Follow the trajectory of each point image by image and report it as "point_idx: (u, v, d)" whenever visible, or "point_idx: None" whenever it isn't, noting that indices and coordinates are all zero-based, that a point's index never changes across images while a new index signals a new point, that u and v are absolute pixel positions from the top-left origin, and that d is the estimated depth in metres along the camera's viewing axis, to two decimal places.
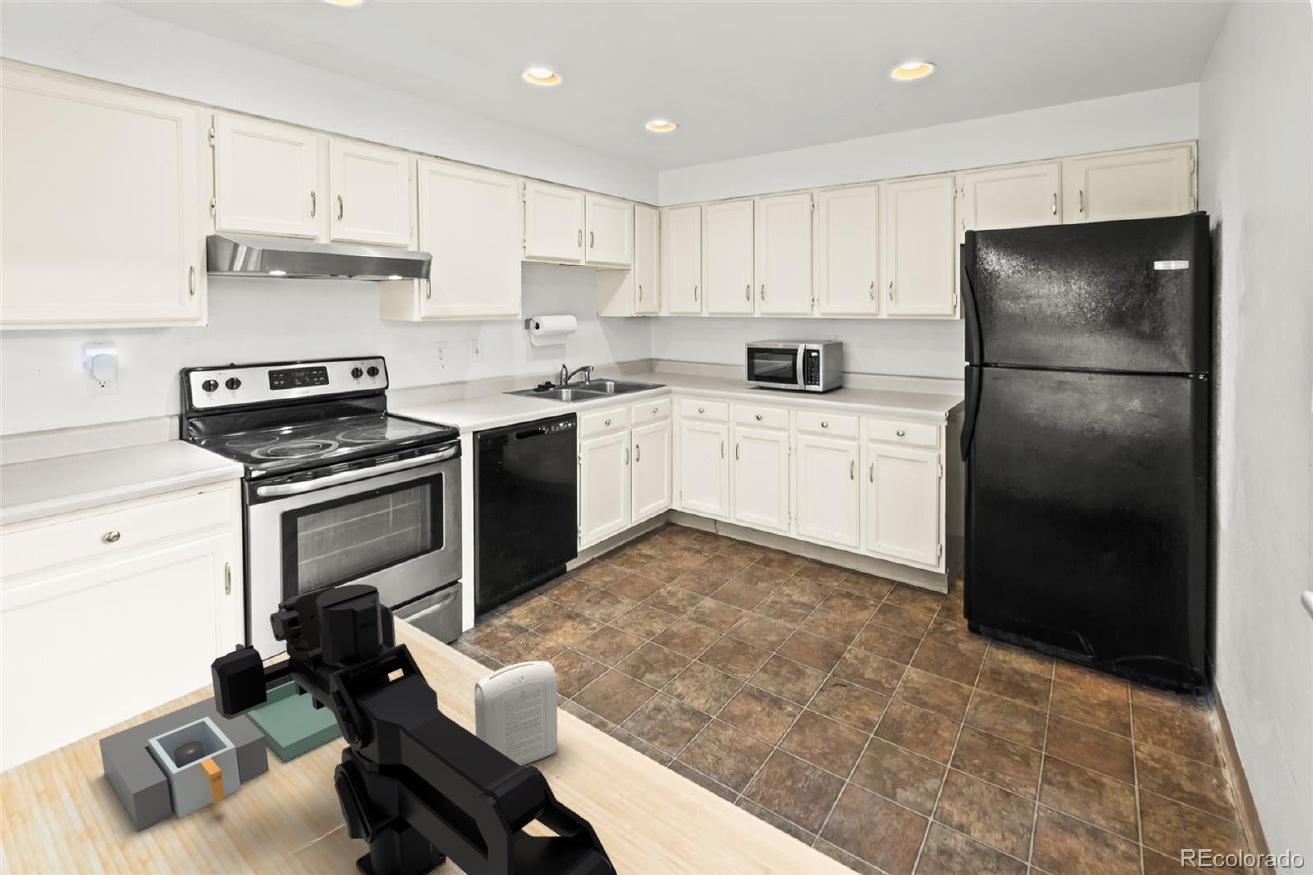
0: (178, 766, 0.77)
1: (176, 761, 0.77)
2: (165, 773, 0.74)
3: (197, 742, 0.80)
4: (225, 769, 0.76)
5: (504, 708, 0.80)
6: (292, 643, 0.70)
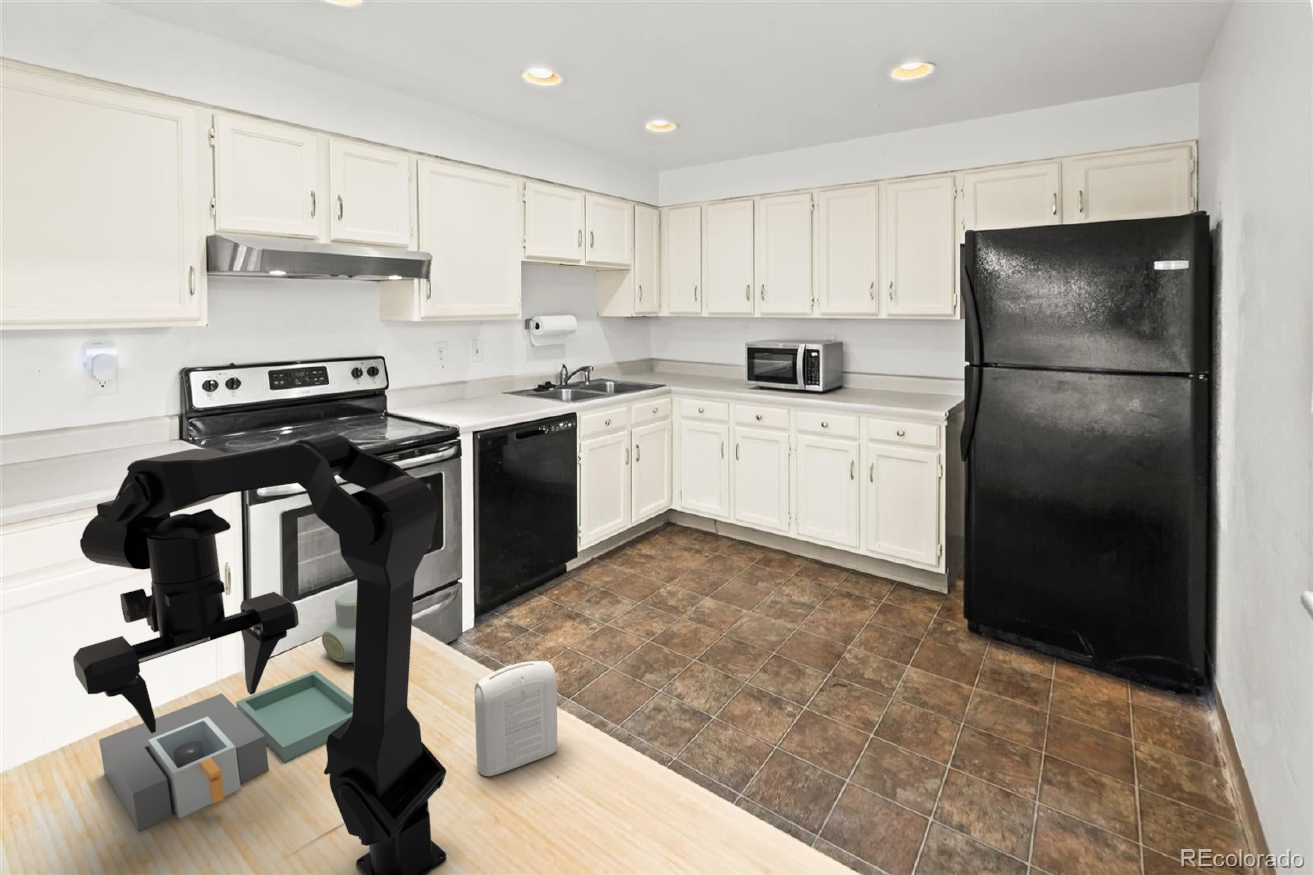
0: (178, 766, 0.77)
1: (176, 761, 0.77)
2: (165, 773, 0.74)
3: (196, 742, 0.80)
4: (225, 769, 0.76)
5: (504, 708, 0.80)
6: (142, 605, 0.70)
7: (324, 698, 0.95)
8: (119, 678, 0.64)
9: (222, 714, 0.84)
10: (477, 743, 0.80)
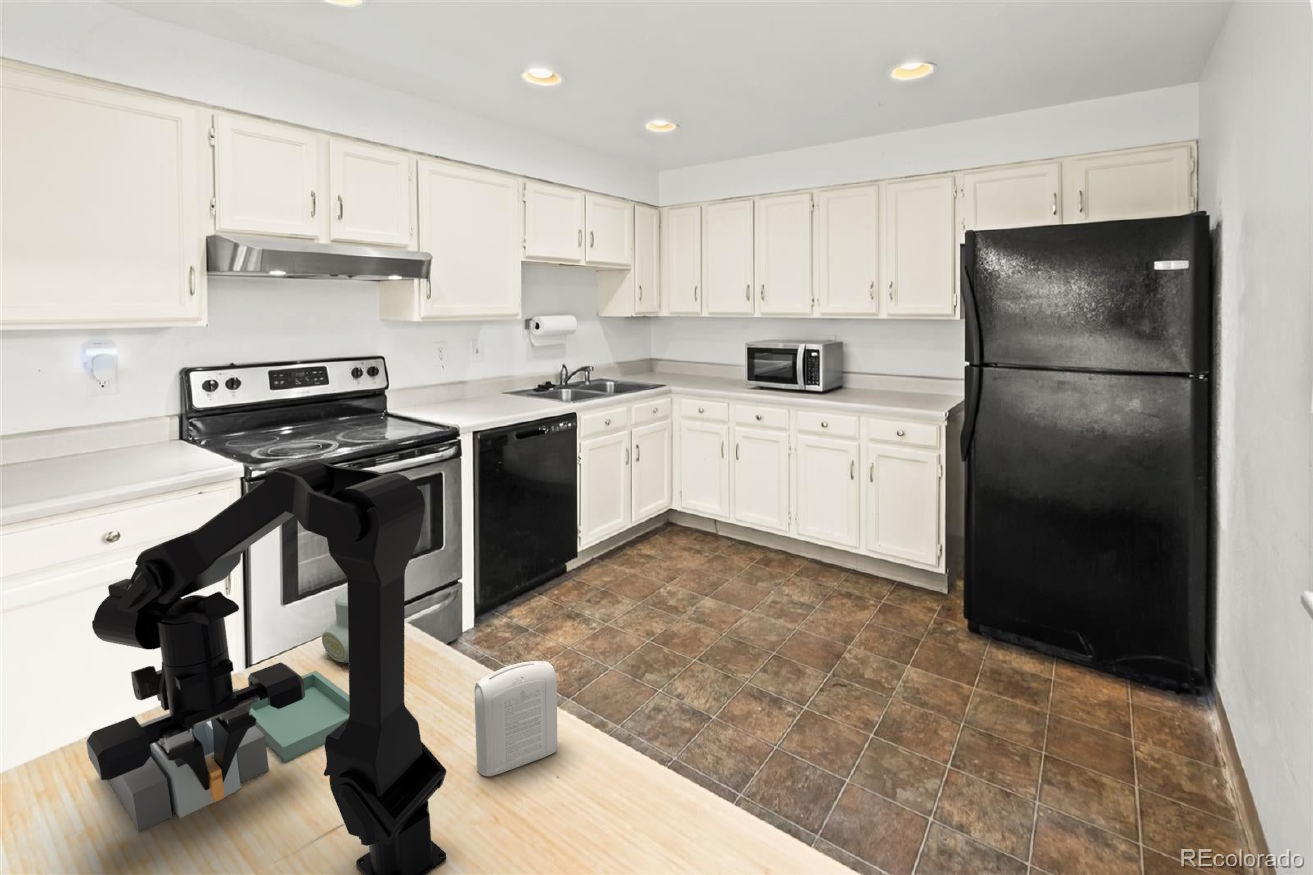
0: (178, 765, 0.77)
1: (176, 760, 0.77)
2: (165, 772, 0.74)
3: None
4: None
5: (504, 708, 0.80)
6: (153, 684, 0.72)
7: (324, 698, 0.95)
8: (131, 763, 0.65)
9: None
10: (477, 743, 0.80)
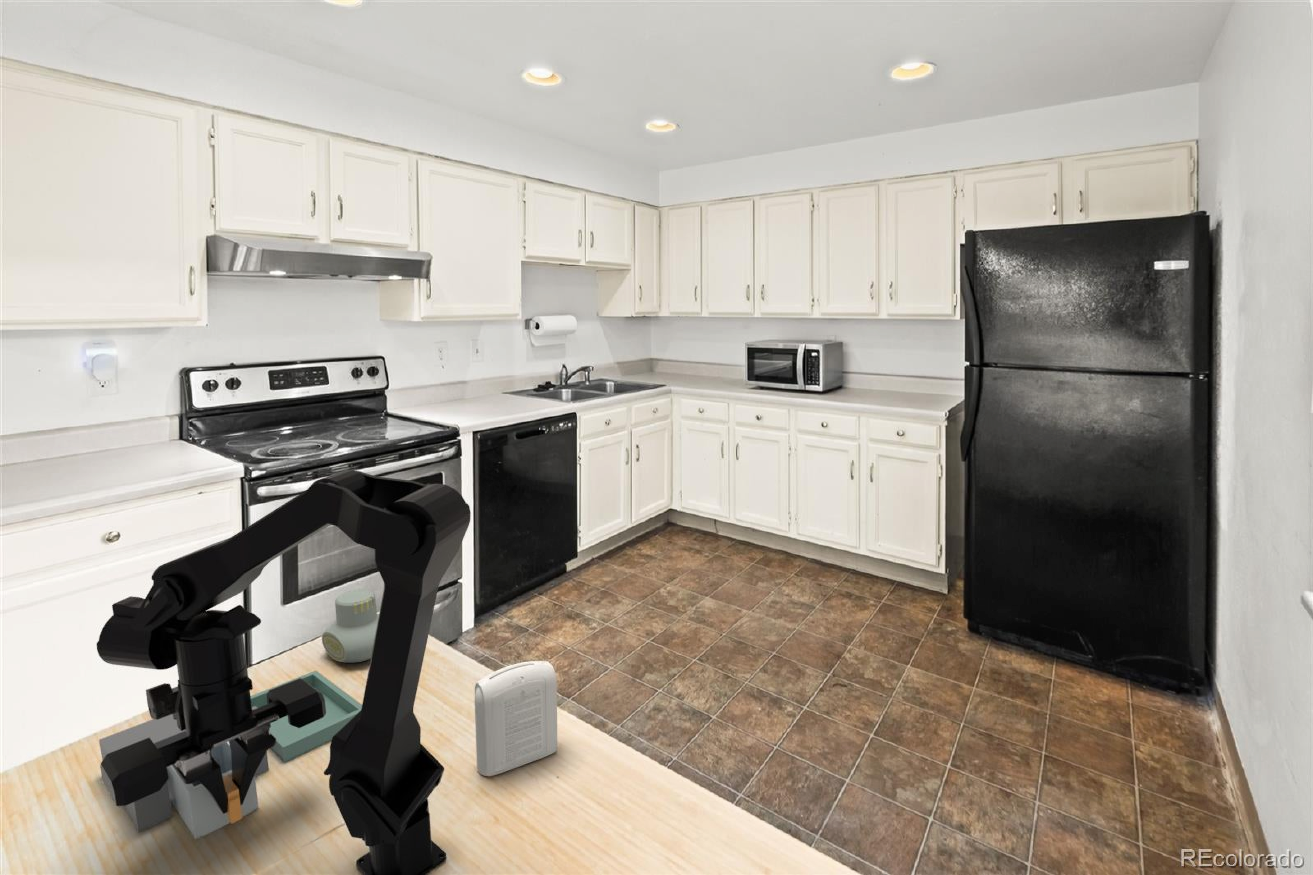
0: (194, 783, 0.75)
1: None
2: (181, 791, 0.72)
3: (213, 757, 0.77)
4: None
5: (504, 708, 0.80)
6: (168, 702, 0.69)
7: (324, 698, 0.95)
8: (147, 787, 0.62)
9: None
10: (477, 743, 0.80)
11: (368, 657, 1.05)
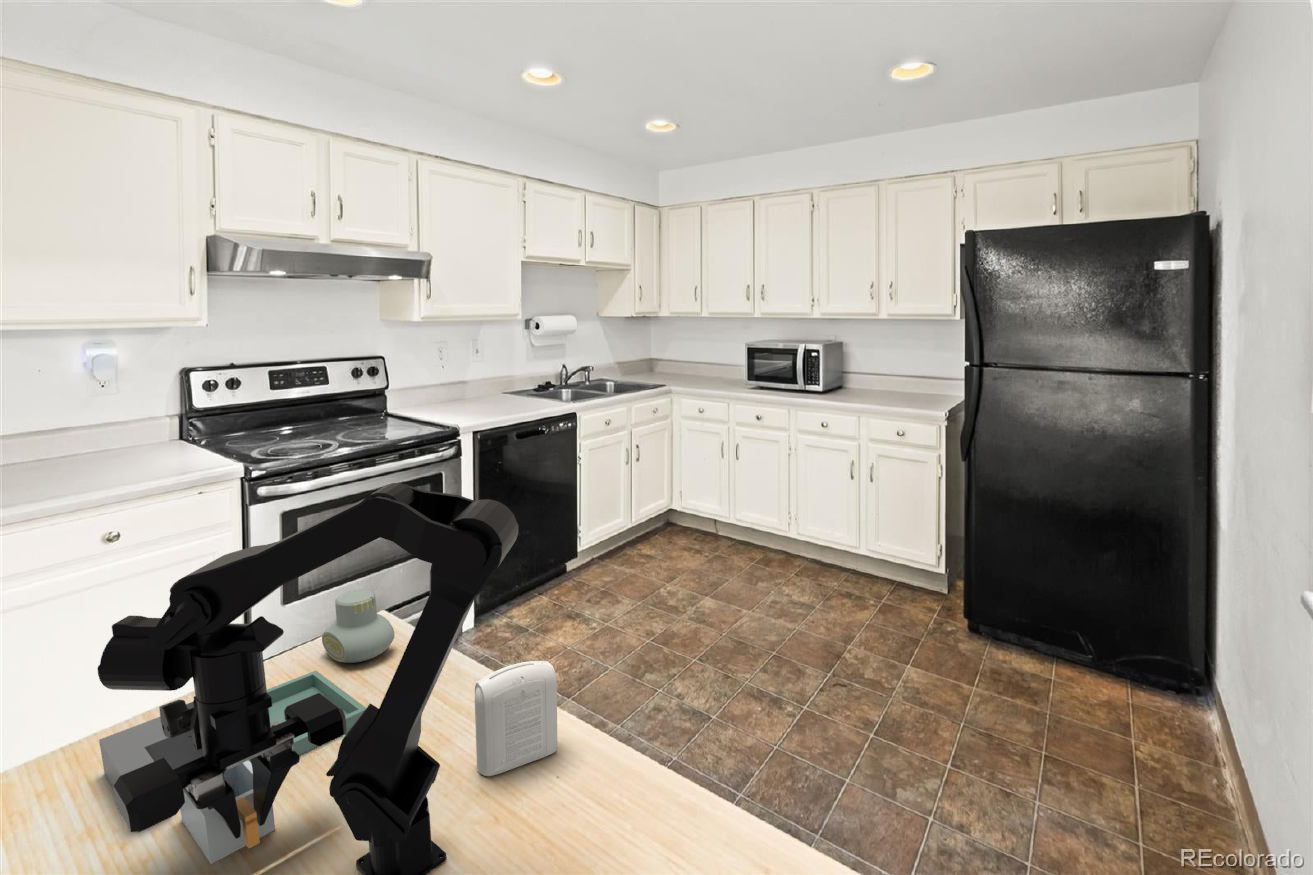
0: None
1: None
2: (195, 814, 0.69)
3: (227, 778, 0.74)
4: None
5: (504, 708, 0.80)
6: (183, 720, 0.66)
7: None
8: (163, 812, 0.59)
9: None
10: (477, 743, 0.80)
11: (368, 657, 1.05)
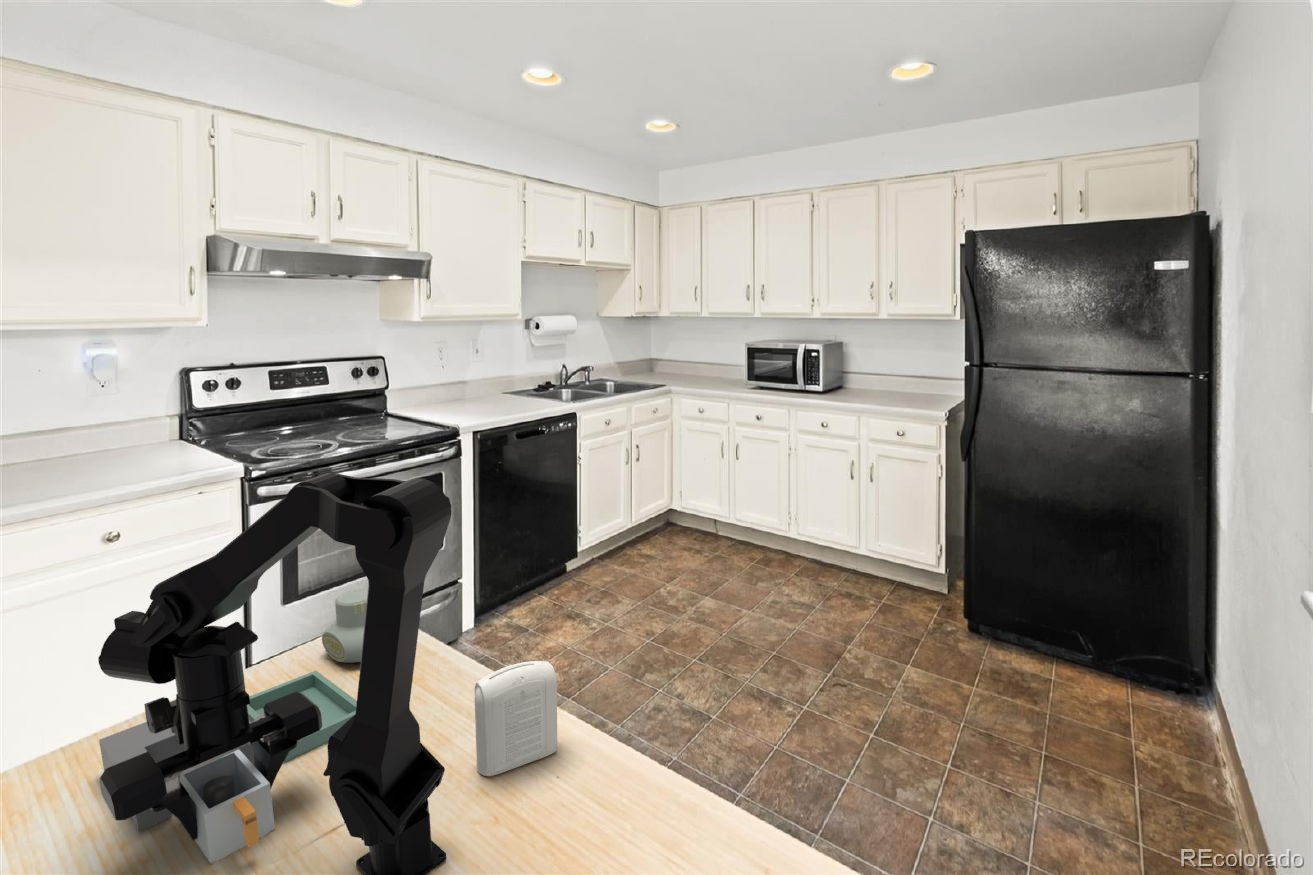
0: (208, 804, 0.71)
1: (205, 798, 0.71)
2: (194, 813, 0.68)
3: (227, 777, 0.74)
4: (259, 808, 0.70)
5: (504, 708, 0.80)
6: (167, 716, 0.70)
7: (324, 698, 0.95)
8: (146, 802, 0.63)
9: None
10: (477, 743, 0.80)
11: None
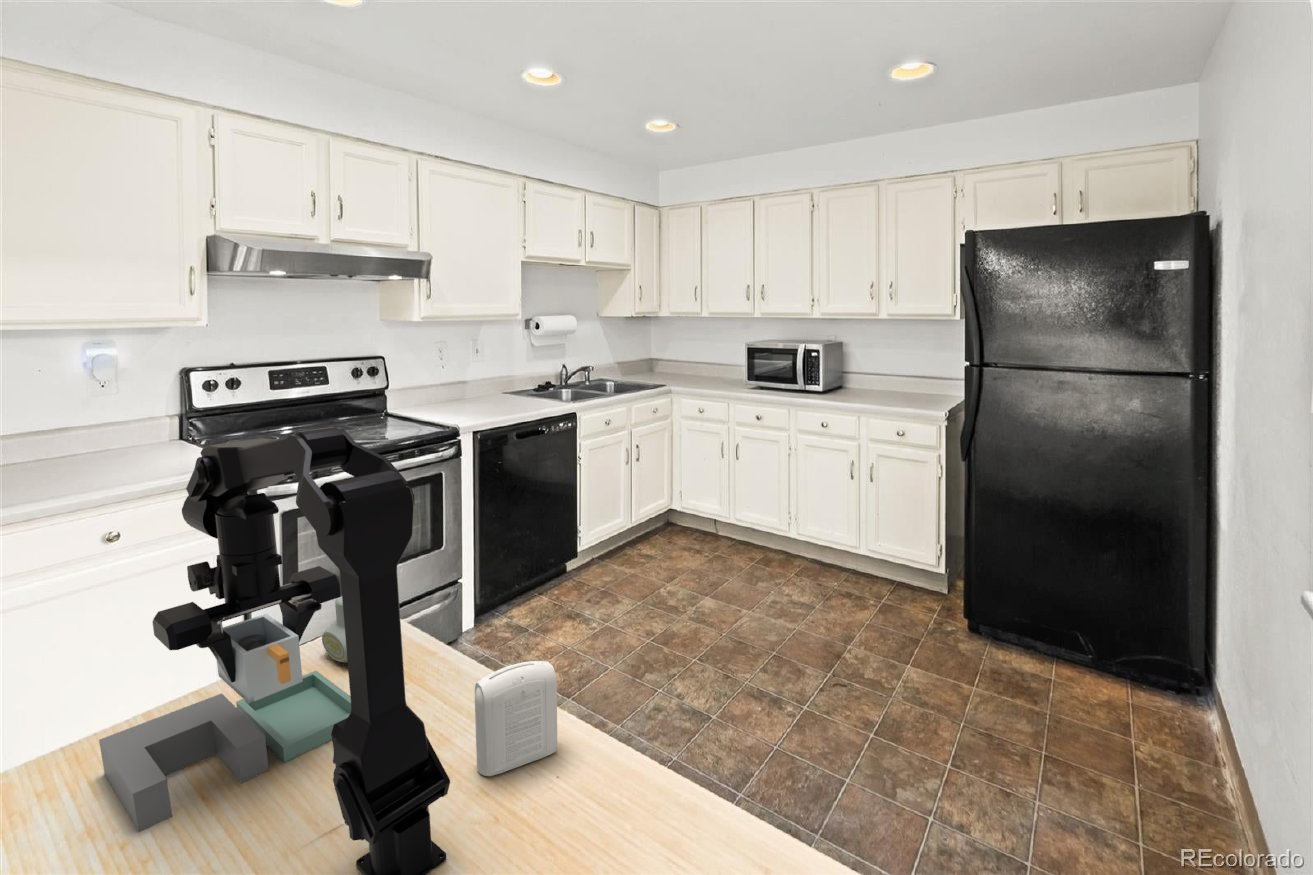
0: None
1: None
2: None
3: (258, 635, 0.83)
4: (289, 656, 0.80)
5: (504, 708, 0.80)
6: (208, 576, 0.79)
7: (324, 698, 0.95)
8: (195, 637, 0.73)
9: (222, 714, 0.84)
10: (477, 743, 0.80)
11: None
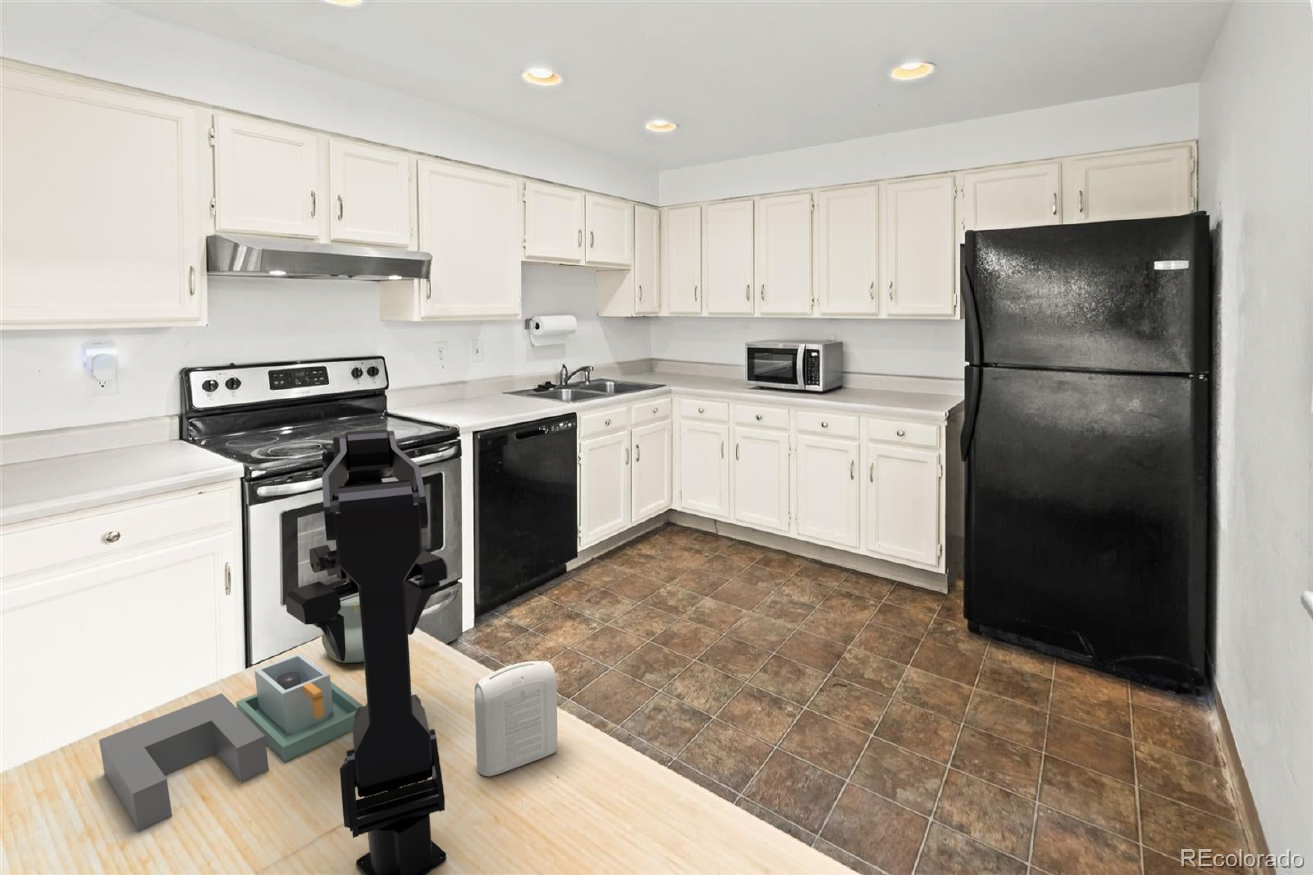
0: None
1: None
2: (273, 695, 0.88)
3: (295, 672, 0.94)
4: (322, 693, 0.90)
5: (504, 708, 0.80)
6: (329, 558, 0.85)
7: None
8: (327, 612, 0.78)
9: (222, 714, 0.84)
10: (477, 743, 0.80)
11: None
